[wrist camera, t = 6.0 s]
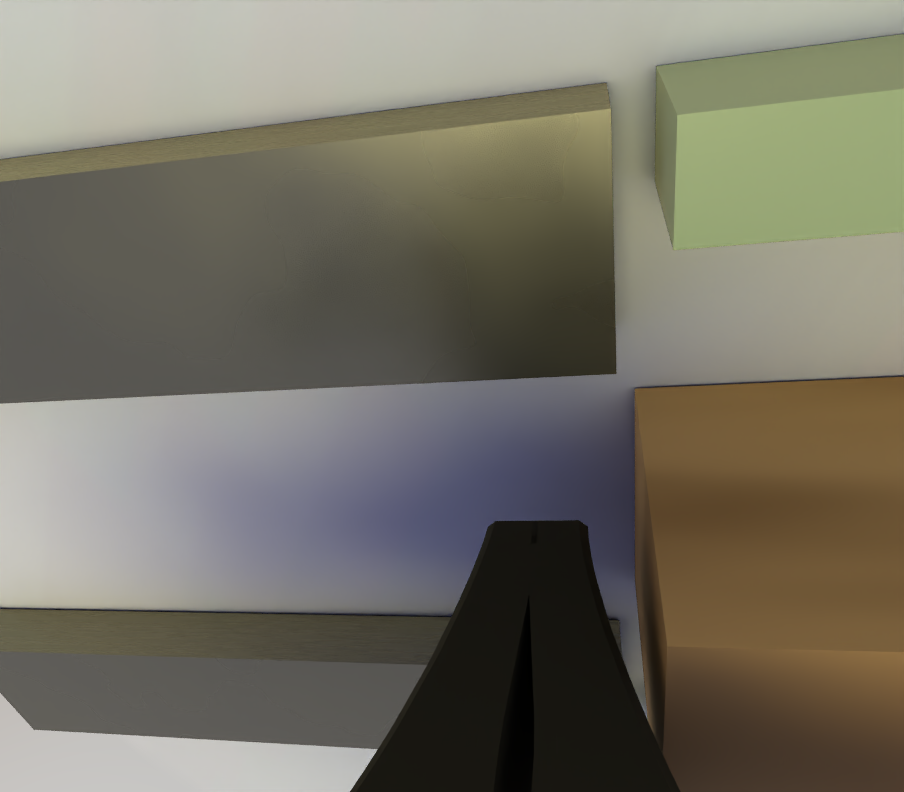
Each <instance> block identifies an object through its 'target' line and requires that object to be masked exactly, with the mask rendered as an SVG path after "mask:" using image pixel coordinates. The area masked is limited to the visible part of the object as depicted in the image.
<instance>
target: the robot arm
mask: <svg viewBox="0 0 904 792" xmlns="http://www.w3.org/2000/svg"><path fill="white" fill-rule="evenodd" d="M350 792H680V790H679V787H678V785H677V783H676V781H675V779H674V777H673V775H672V773H671V771H670V769H669V767H668V764H667V762H666V760H665V758H664V756H663V754H662V752H661V749H660V747H659V745H658V743H657V740H656V738H655V736H654V734H653V731H652V729H651V727H650V725H649V722H648V720H647V718H646V715H645V713H644V711H643V709H642V706H641V704H640V702H639V699H638V697H637V694H636V692H635V689H634V687H633V685H632V682H631V680H630V677H629V674H628V672H627V669H626V666H625V664H624V661H623V658H622V656H621V653H620V650H619V648H618V645H617V642H616V640H615V637H614V634H613V632H612V629H611V626H610V623H609V620H608V617H607V614H606V610H605V607H604V604H603V600H602V597H601V593H600V590H599V587H598V583H597V579H596V575H595V571H594V567H593V562H592V557H591V552H590V545H589V538H588V526H586V525H585V524H584V523H582V522H581V521H579V520H563V521H495V522H494V523H492V524H491V525H490V526H489V527H488V529H487V532H486V535H485V538H484V541H483V544H482V547H481V550H480V552H479V555H478V558H477V560H476V563H475V565H474V568H473V570H472V573H471V575H470V577H469V580H468V582H467V584H466V586H465V589H464V591H463V593H462V595H461V598H460V600H459V602H458V604H457V606H456V609H455V611H454V613H453V615H452V617H451V619H450V621H449V623H448V625H447V627H446V629H445V631H444V633H443V635H442V637H441V639H440V641H439V643H438V645H437V647H436V649H435V651H434V653H433V655H432V657H431V659H430V660H429V662H428V664H427V666H426V668H425V670H424V672H423V673H422V675H421V677H420V679H419V680H418V682H417V684H416V686H415V687H414V689H413V691H412V693H411V694H410V696H409V698H408V700H407V701H406V703H405V705H404V707H403V708H402V710H401V712H400V714H399V715H398V717H397V719H396V721H395V722H394V724H393V726H392V727H391V729H390V731H389V732H388V734H387V735H386V737H385V739H384V740H383V742H382V743H381V745H380V747H379V748H378V750H377V752H376V753H375V755H374V756H373V758H372V759H371V761H370V762H369V764H368V766H367V767H366V769H365V770H364V772H363V773H362V775H361V776H360V778H359V779H358V781H357V782H356V784H355V785H354V787H353V788H352V790H351V791H350Z"/></svg>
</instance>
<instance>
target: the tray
mask: <svg viewBox="0 0 904 792" xmlns="http://www.w3.org/2000/svg"><path fill="white" fill-rule="evenodd" d="M655 184H656V188H657V191H658V195H659V199H660V203H661V206H662V210H663V214H664V218H665V221H666V225H667V229H668V232H669V236H670V240H671V244H672V247H673V250H681V249H694V248H706V247H718V246H731V245H743V244H756V243H768V242H781V241H793V240H806V239H818V238H831V237H843V236H856V235H868V234H881V233H893V232H904V34H900V35H892V36H884V37H877V38H869V39H861V40H854V41H846V42H838V43H830V44H823V45H815V46H807V47H800V48H792V49H784V50H776V51H769V52H761V53H753V54H746V55H738V56H730V57H722V58H715V59H707V60H699V61H692V62H684V63H676V64H668V65H661V66H656V125H655ZM647 720H648V715H647Z"/></svg>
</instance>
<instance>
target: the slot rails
mask: <svg viewBox="0 0 904 792" xmlns="http://www.w3.org/2000/svg"><path fill="white" fill-rule="evenodd" d="M602 374H616V331H615V283H614V235H613V187H612V139H611V107H610V101H609V95H608V89H607V83H601V84H593V85H585V86H577V87H569V88H561V89H554V90H546V91H538V92H530V93H522V94H514V95H506V96H498V97H490V98H483V99H475V100H467V101H459V102H451V103H443V104H435V105H427V106H419V107H412V108H404V109H396V110H388V111H380V112H372V113H364V114H356V115H349V116H341V117H333V118H325V119H317V120H309V121H301V122H293V123H285V124H278V125H270V126H262V127H254V128H246V129H238V130H230V131H222V132H214V133H207V134H199V135H191V136H183V137H175V138H167V139H159V140H151V141H144V142H136V143H128V144H120V145H112V146H104V147H96V148H88V149H80V150H73V151H65V152H57V153H49V154H41V155H33V156H25V157H17V158H9V159H2V160H0V403H21V402H41V401H62V400H83V399H104V398H125V397H145V396H166V395H187V394H208V393H228V392H249V391H270V390H291V389H311V388H332V387H353V386H374V385H395V384H415V383H436V382H457V381H478V380H498V379H519V378H540V377H561V376H582V375H602ZM450 619H451V617H407V616H353V615H298V614H243V613H188V612H133V611H78V610H23V609H0V693H1V694H2V695H3V696H4V697H5V698H6V700H7V701H8V702H9V703H10V704H11V705H12V706H13V707H14V708H15V709H16V710H17V711H18V713H20V715H21V716H22V717H23V718H24V719H25V720H26V721H27V722H28V723H29V725H30V726H31V727H32V728H33V729H34V730H51V731H69V732H87V733H104V734H122V735H139V736H157V737H175V738H192V739H210V740H228V741H245V742H263V743H281V744H299V745H316V746H334V747H352V748H369V749H378V748H379V747H380V745H381V743H382V742H383V740H384V739H385V737H386V735H387V734H388V732H389V731H390V729H391V727H392V726H393V724H394V722H395V721H396V719H397V717H398V715H399V714H400V712H401V710H402V708H403V707H404V705H405V703H406V701H407V700H408V698H409V696H410V694H411V693H412V691H413V689H414V687H415V686H416V684H417V682H418V680H419V679H420V677H421V675H422V673H423V672H424V670H425V668H426V666H427V664H428V662H429V660H430V659H431V657H432V655H433V653H434V651H435V649H436V647H437V645H438V643H439V641H440V639H441V637H442V635H443V633H444V631H445V629H446V627H447V625H448V623H449V621H450ZM609 623H610V626H611V629H612V632H613V634H614V637H615V640H616V642H617V645H618V648H619V650H620V653H621V639H620V624H619V620H609ZM621 656H622V654H621Z"/></svg>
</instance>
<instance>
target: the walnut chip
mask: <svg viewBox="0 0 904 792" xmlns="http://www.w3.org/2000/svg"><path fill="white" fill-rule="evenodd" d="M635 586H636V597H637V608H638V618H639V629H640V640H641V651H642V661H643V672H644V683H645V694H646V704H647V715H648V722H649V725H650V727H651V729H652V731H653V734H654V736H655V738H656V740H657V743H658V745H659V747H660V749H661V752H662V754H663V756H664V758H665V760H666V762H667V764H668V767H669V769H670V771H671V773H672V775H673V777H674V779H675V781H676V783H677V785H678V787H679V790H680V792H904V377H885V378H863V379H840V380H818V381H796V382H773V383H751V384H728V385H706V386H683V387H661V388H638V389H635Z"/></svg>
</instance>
